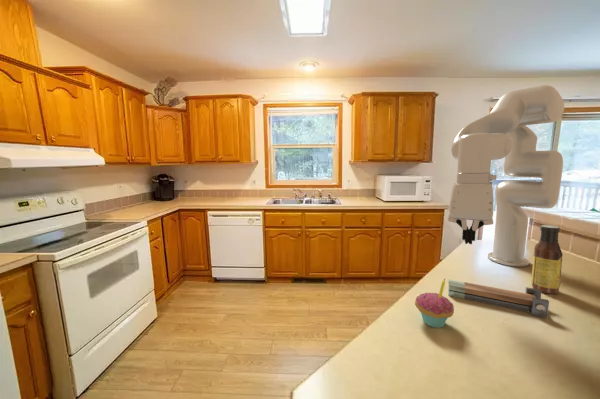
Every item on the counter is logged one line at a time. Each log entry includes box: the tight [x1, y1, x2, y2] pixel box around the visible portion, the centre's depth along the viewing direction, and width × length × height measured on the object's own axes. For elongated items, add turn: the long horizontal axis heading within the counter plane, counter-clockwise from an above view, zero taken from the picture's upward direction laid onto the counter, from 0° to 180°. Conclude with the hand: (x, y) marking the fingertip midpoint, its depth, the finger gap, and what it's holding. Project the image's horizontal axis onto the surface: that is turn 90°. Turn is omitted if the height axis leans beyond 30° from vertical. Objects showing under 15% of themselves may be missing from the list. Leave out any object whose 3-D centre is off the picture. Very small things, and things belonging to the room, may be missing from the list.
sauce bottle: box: [530, 224, 564, 295], centre depth 76 cm, size 6×6×20 cm
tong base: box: [447, 286, 550, 319], centre depth 72 cm, size 8×22×4 cm, turn 60°
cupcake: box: [414, 278, 455, 329], centre depth 63 cm, size 9×8×12 cm
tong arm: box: [448, 279, 536, 306], centre depth 72 cm, size 4×20×2 cm, turn 60°
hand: (468, 242), depth 73 cm, fingers closed
